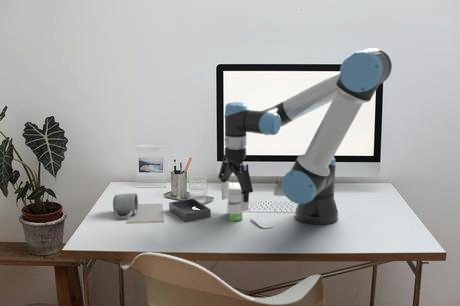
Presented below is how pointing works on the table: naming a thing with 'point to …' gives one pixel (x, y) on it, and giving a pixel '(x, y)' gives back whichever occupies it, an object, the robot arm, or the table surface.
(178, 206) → the tray
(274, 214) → the table surface
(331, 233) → the table surface
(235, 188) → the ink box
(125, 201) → the ceramic mug
